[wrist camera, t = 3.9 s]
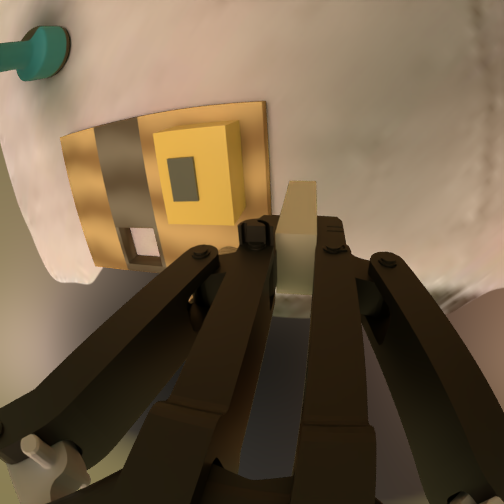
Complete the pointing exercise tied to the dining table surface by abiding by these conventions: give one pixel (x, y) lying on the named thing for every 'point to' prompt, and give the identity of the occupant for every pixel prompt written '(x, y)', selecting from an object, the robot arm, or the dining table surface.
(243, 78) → the dining table surface
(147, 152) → the subfloor panel
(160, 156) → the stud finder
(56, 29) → the power drill
